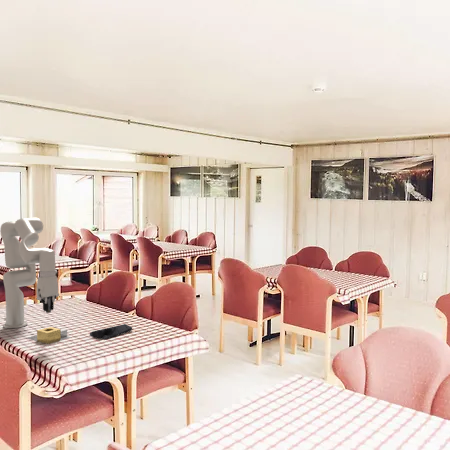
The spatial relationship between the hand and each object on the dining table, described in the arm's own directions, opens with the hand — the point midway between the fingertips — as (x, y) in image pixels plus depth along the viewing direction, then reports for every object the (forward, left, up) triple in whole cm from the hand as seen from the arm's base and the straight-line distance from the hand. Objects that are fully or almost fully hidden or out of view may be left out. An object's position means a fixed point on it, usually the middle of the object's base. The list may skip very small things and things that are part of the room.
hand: (48, 310), depth 245 cm
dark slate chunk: (+13, +30, -17) cm, 37 cm away
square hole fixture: (-3, +2, -17) cm, 17 cm away
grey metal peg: (0, 0, -1) cm, 1 cm away
